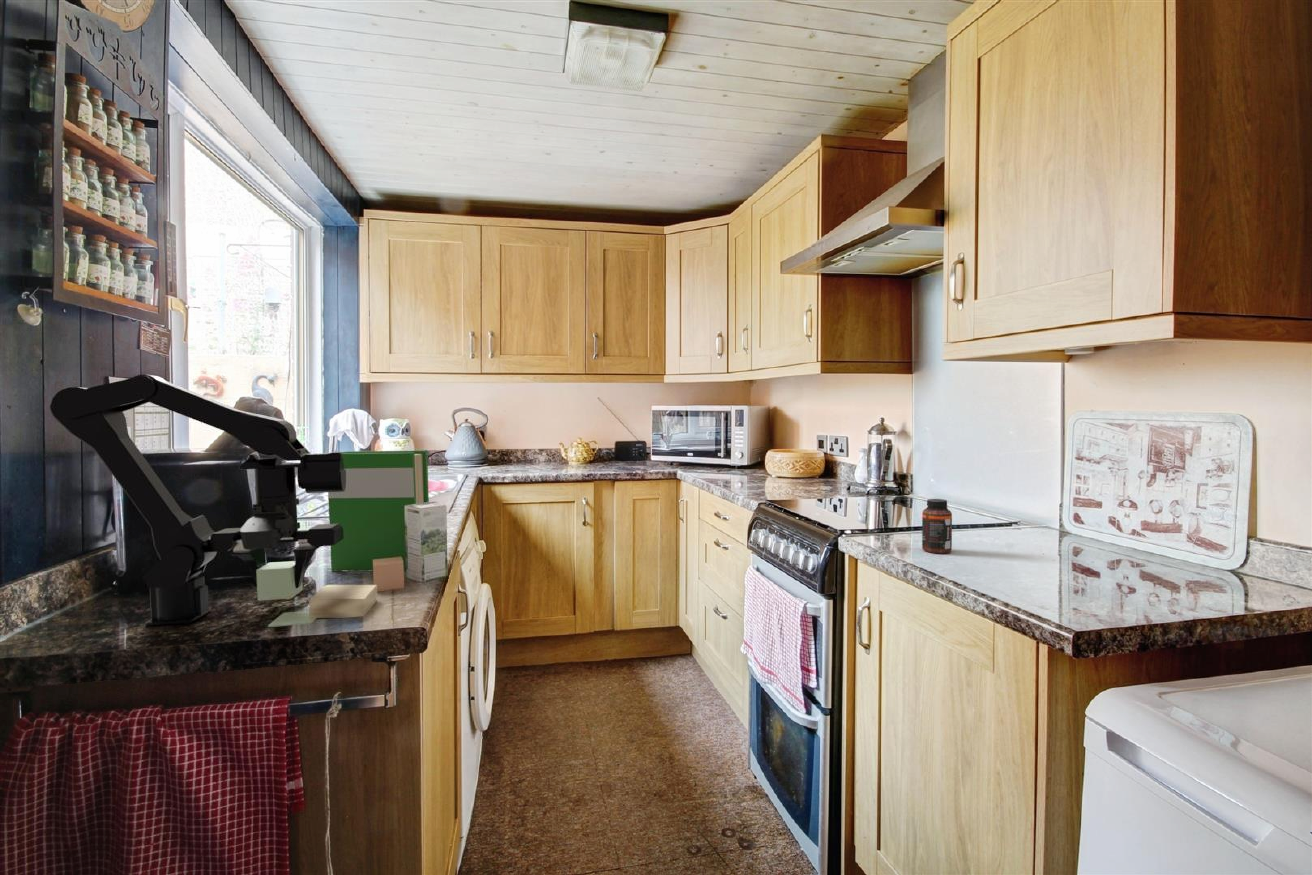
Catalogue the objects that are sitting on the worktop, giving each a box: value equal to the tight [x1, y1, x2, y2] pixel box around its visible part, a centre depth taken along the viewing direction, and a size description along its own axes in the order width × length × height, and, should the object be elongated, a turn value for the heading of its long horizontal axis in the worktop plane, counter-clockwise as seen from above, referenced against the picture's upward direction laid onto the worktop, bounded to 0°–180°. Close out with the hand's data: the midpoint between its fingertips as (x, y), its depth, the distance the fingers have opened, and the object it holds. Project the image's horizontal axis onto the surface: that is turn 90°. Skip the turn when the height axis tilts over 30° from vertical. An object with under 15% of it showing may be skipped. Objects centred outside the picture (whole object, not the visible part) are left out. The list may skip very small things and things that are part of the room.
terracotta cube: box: [372, 557, 405, 592], centre depth 116 cm, size 5×5×5 cm
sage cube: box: [256, 560, 304, 601], centre depth 104 cm, size 5×5×5 cm
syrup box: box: [405, 501, 449, 583], centre depth 122 cm, size 6×6×14 cm
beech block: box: [308, 584, 378, 619], centre depth 103 cm, size 8×8×3 cm
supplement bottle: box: [921, 498, 953, 554], centre depth 138 cm, size 6×6×11 cm
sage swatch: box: [268, 610, 318, 628], centre depth 99 cm, size 6×6×1 cm
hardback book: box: [327, 450, 430, 570], centre depth 131 cm, size 18×7×24 cm, turn 88°
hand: (280, 588), depth 105 cm, fingers closed on sage cube, 5 cm apart
